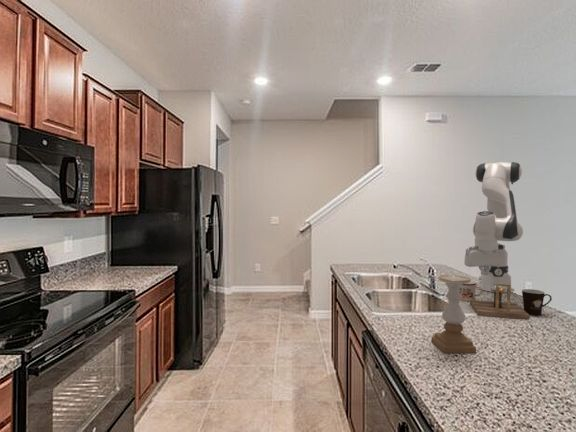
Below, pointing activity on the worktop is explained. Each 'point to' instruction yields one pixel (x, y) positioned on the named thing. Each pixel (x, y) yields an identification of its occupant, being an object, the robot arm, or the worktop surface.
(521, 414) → the worktop surface
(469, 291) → the teacup with lid
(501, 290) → the grey rod with dome
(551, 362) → the worktop surface
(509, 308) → the stand
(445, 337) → the candle holder
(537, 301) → the coffee mug
